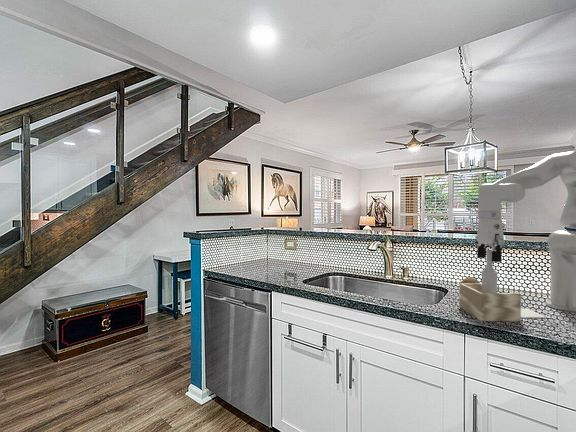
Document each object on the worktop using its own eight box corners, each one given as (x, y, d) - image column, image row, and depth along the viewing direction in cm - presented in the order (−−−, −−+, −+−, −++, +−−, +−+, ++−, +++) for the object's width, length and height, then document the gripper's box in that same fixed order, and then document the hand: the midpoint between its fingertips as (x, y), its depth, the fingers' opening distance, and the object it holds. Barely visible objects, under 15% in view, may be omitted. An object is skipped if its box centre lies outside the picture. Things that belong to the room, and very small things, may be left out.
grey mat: (527, 309, 127) (527, 308, 127) (547, 318, 117) (547, 317, 117) (502, 309, 128) (502, 308, 128) (519, 318, 118) (519, 317, 118)
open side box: (494, 307, 131) (494, 283, 131) (520, 321, 115) (520, 293, 115) (459, 307, 131) (459, 283, 131) (481, 321, 115) (481, 293, 115)
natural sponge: (464, 295, 148) (464, 274, 148) (485, 299, 142) (485, 277, 141) (456, 299, 142) (456, 277, 142) (478, 303, 136) (478, 280, 135)
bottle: (479, 311, 126) (480, 249, 126) (494, 312, 125) (494, 249, 124) (483, 315, 121) (483, 250, 121) (499, 316, 120) (499, 251, 119)
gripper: (514, 216, 113) (513, 263, 114) (486, 215, 131) (485, 256, 131) (492, 216, 114) (492, 263, 114) (467, 215, 131) (467, 256, 131)
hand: (488, 259), depth 122 cm, fingers open, 9 cm apart
